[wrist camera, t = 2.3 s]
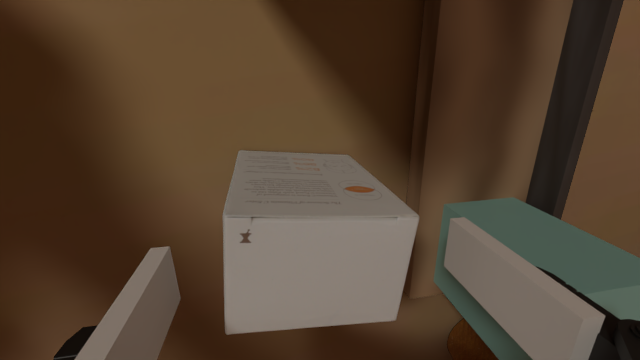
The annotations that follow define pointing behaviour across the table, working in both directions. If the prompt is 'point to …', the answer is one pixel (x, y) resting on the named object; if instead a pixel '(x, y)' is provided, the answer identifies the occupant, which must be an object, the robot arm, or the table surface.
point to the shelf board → (500, 108)
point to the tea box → (540, 264)
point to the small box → (311, 243)
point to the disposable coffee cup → (468, 344)
